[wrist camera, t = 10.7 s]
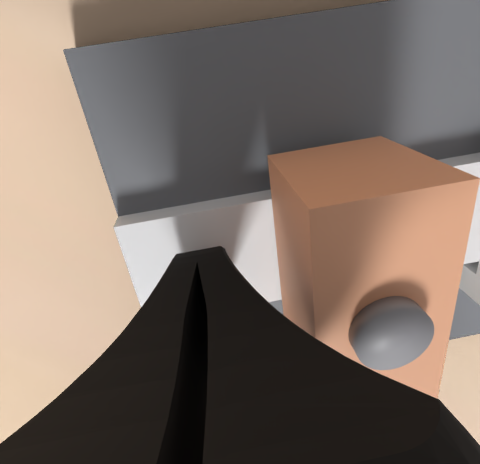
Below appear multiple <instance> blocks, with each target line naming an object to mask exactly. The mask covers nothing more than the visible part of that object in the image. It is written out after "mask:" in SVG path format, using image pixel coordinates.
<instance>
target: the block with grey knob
mask: <svg viewBox="0 0 480 464" xmlns="http://www.w3.org/2000/svg"><path fill="white" fill-rule="evenodd" d="M267 158H268V168H269V177H270V187H271V197H272V207H273V217H274V227H275V237H276V247H277V256H278V266H279V276H280V286H281V296H282V306H283V315H284V316H285V317H287V318H288V319H289V320H290V321H292V322H293V323H294V324H296V325H297V326H299V327H300V328H301V329H303V330H304V331H306V332H307V333H308V334H310V335H311V336H313V337H314V338H316V339H318V340H319V341H321V342H323V343H324V344H326V345H328V346H329V347H331V348H333V349H334V350H336V351H337V352H339V353H341V354H342V355H344V356H346V357H348V358H350V359H352V360H354V361H355V362H357V363H359V364H361V365H363V366H365V367H367V368H369V369H371V370H373V371H375V372H377V373H379V374H382V375H384V376H386V377H388V378H391V379H393V380H395V381H398V382H400V383H402V384H405V385H407V386H409V387H411V388H414V389H416V390H418V391H421V392H423V393H425V394H428V395H430V396H432V397H434V398H437V399H438V393H439V388H440V383H441V378H442V373H443V368H444V362H445V357H446V352H447V347H448V342H449V337H450V331H451V326H452V321H453V316H454V311H455V306H456V300H457V295H458V290H459V285H460V280H461V275H462V269H463V264H464V259H465V254H466V249H467V244H468V238H469V233H470V228H471V223H472V218H473V213H474V207H475V202H476V197H477V192H478V187H479V182H480V178H478V177H476V176H474V175H471V174H469V173H467V172H464V171H462V170H459V169H457V168H455V167H452V166H450V165H448V164H445V163H443V162H441V161H438V160H436V159H434V158H431V157H429V156H427V155H424V154H422V153H420V152H417V151H415V150H413V149H410V148H408V147H406V146H403V145H401V144H398V143H396V142H394V141H391V140H389V139H387V138H384V137H382V136H377V137H371V138H366V139H360V140H354V141H348V142H342V143H336V144H331V145H325V146H319V147H313V148H307V149H302V150H296V151H290V152H284V153H278V154H272V155H267Z"/></svg>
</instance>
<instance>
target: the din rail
mask: <svg viewBox="0 0 480 464" xmlns="http://www.w3.org/2000/svg"><path fill="white" fill-rule="evenodd" d="M63 51H64V54H65V57H66V60H67V63H68V66H69V69H70V72H71V75H72V78H73V81H74V84H75V87H76V90H77V93H78V96H79V99H80V102H81V106H82V109H83V112H84V115H85V118H86V121H87V124H88V127H89V130H90V133H91V136H92V139H93V142H94V145H95V148H96V151H97V154H98V157H99V160H100V163H101V166H102V169H103V172H104V175H105V178H106V181H107V184H108V187H109V190H110V193H111V196H112V199H113V202H114V205H115V208H116V211H117V214H118V218H117V220H116V223H115V225H114V230H115V233H116V236H117V239H118V242H119V245H120V247H121V250H122V253H123V256H124V259H125V262H126V265H127V268H128V271H129V274H130V277H131V280H132V282H133V285H134V288H135V291H136V294H137V297H138V300H139V303H140V306H141V307H142V306H143V304H144V303H145V302H146V300H147V299H148V297H149V296H150V294H151V293H152V291H153V290H154V288H155V287H156V285H157V284H158V282H159V281H160V279H161V277H162V276H163V274H164V272H165V271H166V269H167V267H168V266H169V264H170V262H171V261H172V259H173V258H174V256H175V255H176V254H179V253H184V252H190V251H195V250H201V249H206V248H211V247H217V246H222V247H223V248H225V250H226V252H227V254H228V256H229V258H230V259H231V261H232V262H233V264H234V265H235V266H236V268H237V269H238V270H239V272H240V273H241V274H242V275H243V276H244V277H245V279H246V280H247V281H248V282H249V283H250V284H251V285H252V286H253V287H254V289H255V290H256V291H257V292H258V293H259V294H260V295H261V296H263V297H264V298H265V299H266V300H267V301H268V302H269V303H270V304H271V305H272V306H273V307H274V308H276V309H277V310H278V311H279V312H280V313H282V314H283V306H282V296H281V286H280V276H279V266H278V256H277V247H276V237H275V227H274V217H273V207H272V197H271V187H270V177H269V168H268V158H267V155H272V154H278V153H284V152H290V151H296V150H302V149H307V148H313V147H319V146H325V145H331V144H336V143H342V142H348V141H354V140H360V139H366V138H371V137H377V136H382V137H384V138H387V139H389V140H391V141H394V142H396V143H398V144H401V145H403V146H406V147H408V148H410V149H413V150H415V151H417V152H420V153H422V154H424V155H427V156H429V157H431V158H434V159H436V160H438V161H441V162H443V163H445V164H448V165H450V166H452V167H455V168H457V169H459V170H462V171H464V172H467V173H469V174H471V175H474V176H476V177H478V178H480V0H389V1H383V2H376V3H369V4H363V5H356V6H349V7H343V8H336V9H329V10H323V11H316V12H310V13H303V14H296V15H290V16H283V17H276V18H270V19H263V20H257V21H250V22H243V23H237V24H230V25H223V26H217V27H210V28H203V29H197V30H190V31H184V32H177V33H170V34H164V35H157V36H150V37H144V38H137V39H130V40H124V41H117V42H111V43H104V44H97V45H91V46H84V47H77V48H71V49H64V50H63ZM479 259H480V182H479V187H478V192H477V197H476V202H475V207H474V213H473V218H472V223H471V228H470V233H469V238H468V244H467V249H466V254H465V259H464V264H468V263H473V262H478V261H479ZM475 334H480V305H479V304H478V303H476V302H475V301H474V300H473V299H472V298H471V297H469V296H468V295H467V294H466V293H465V292H464V291H462V290H461V289H460V288H459V290H458V295H457V300H456V306H455V311H454V316H453V321H452V326H451V331H450V337H449V340H451V339H456V338H461V337H466V336H470V335H475Z"/></svg>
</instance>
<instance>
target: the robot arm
mask: <svg viewBox="0 0 480 464" xmlns="http://www.w3.org/2000/svg"><path fill="white" fill-rule="evenodd" d="M0 464H480V445H479V444H478V443H477V442H476V440H475V439H474V438H473V437H472V436H471V435H470V433H469V432H468V431H467V430H466V429H465V428H464V426H463V425H462V424H461V423H460V422H459V421H458V420H457V419H456V418H455V417H454V416H453V414H452V413H451V412H450V411H449V410H448V409H447V408H446V407H445V406H444V405H443V403H442V402H441V401H440V400H439V399H437V398H434V397H432V396H430V395H428V394H425V393H423V392H421V391H418V390H416V389H414V388H411V387H409V386H407V385H405V384H402V383H400V382H398V381H395V380H393V379H391V378H388V377H386V376H384V375H382V374H379V373H377V372H375V371H373V370H371V369H369V368H367V367H365V366H363V365H361V364H359V363H357V362H355V361H354V360H352V359H350V358H348V357H346V356H344V355H342V354H341V353H339V352H337V351H336V350H334V349H333V348H331V347H329V346H328V345H326V344H324V343H323V342H321V341H319V340H318V339H316V338H314V337H313V336H311V335H310V334H308V333H307V332H306V331H304V330H303V329H301V328H300V327H299V326H297V325H296V324H294V323H293V322H292V321H290V320H289V319H288V318H287V317H285V316H284V315H283V314H282V313H280V312H279V311H278V310H277V309H276V308H274V307H273V306H272V305H271V304H270V303H269V302H268V301H267V300H266V299H265V298H264V297H263V296H261V295H260V294H259V293H258V292H257V291H256V290H255V289H254V287H253V286H252V285H251V284H250V283H249V282H248V281H247V280H246V279H245V277H244V276H243V275H242V274H241V273H240V272H239V270H238V269H237V268H236V266H235V265H234V264H233V262H232V261H231V259H230V258H229V256H228V254H227V252H226V250H225V248H223V247H222V246H217V247H211V248H206V249H201V250H195V251H190V252H184V253H179V254H176V255H175V256H174V258H173V259H172V261H171V262H170V264H169V266H168V267H167V269H166V271H165V272H164V274H163V276H162V277H161V279H160V281H159V282H158V284H157V285H156V287H155V288H154V290H153V291H152V293H151V294H150V296H149V297H148V299H147V300H146V302H145V303H144V304H143V306H142V307H141V309H140V310H139V311H138V312H137V314H136V315H135V316H134V318H133V319H132V320H131V322H130V323H129V324H128V326H127V327H126V328H125V329H124V331H123V332H122V333H121V334H120V335H119V336H118V338H117V339H116V340H115V341H114V342H113V343H112V344H111V345H110V346H109V347H108V349H107V350H106V351H105V352H104V353H103V354H102V355H101V356H100V357H99V358H98V359H97V360H96V361H95V362H94V363H93V364H92V365H91V366H90V367H89V368H88V369H87V370H86V371H85V372H84V373H83V374H81V375H80V376H79V377H78V378H77V379H76V380H75V381H74V382H73V383H72V384H71V385H70V386H69V387H68V388H67V389H65V390H64V391H63V392H62V393H61V394H60V395H59V396H58V397H57V398H56V399H55V400H53V401H52V402H51V403H50V404H49V405H47V406H46V407H45V408H44V409H43V410H42V411H40V412H39V413H38V414H37V415H36V416H34V417H33V418H32V419H31V420H30V421H28V422H27V423H26V424H25V425H23V426H22V427H21V428H20V429H18V430H17V431H16V432H15V433H13V434H12V435H11V436H10V437H8V438H7V439H6V440H5V441H3V442H2V443H1V444H0Z"/></svg>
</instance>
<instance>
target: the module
mask: <svg viewBox="0 0 480 464" xmlns="http://www.w3.org/2000/svg"><path fill="white" fill-rule="evenodd" d="M459 288H460V289H461V290H462V291H464V292H465V293H466V294H467V295H468V296H469V297H471V298H472V299H473V300H474V301H475V302H476V303H478V304H479V305H480V259H479V261H478V262H473V263H468V264H463V269H462V275H461V280H460V285H459Z"/></svg>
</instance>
